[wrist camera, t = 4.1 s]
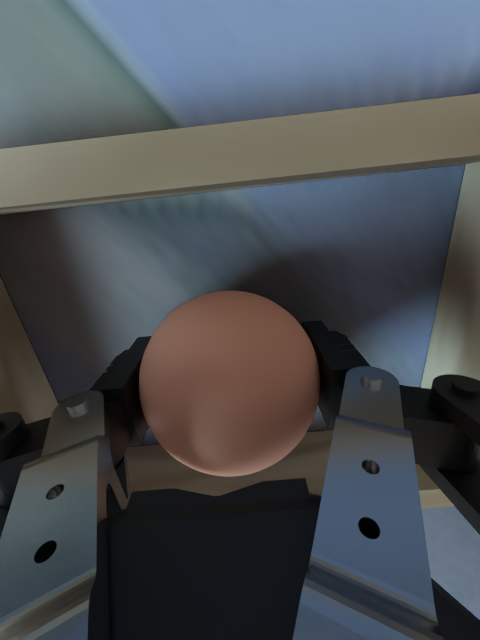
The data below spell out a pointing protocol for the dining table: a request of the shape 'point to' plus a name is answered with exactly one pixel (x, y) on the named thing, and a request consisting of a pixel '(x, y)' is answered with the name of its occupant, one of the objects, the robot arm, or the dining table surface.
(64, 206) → the beige rectangular frame
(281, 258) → the dining table surface
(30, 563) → the robot arm
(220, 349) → the ball
